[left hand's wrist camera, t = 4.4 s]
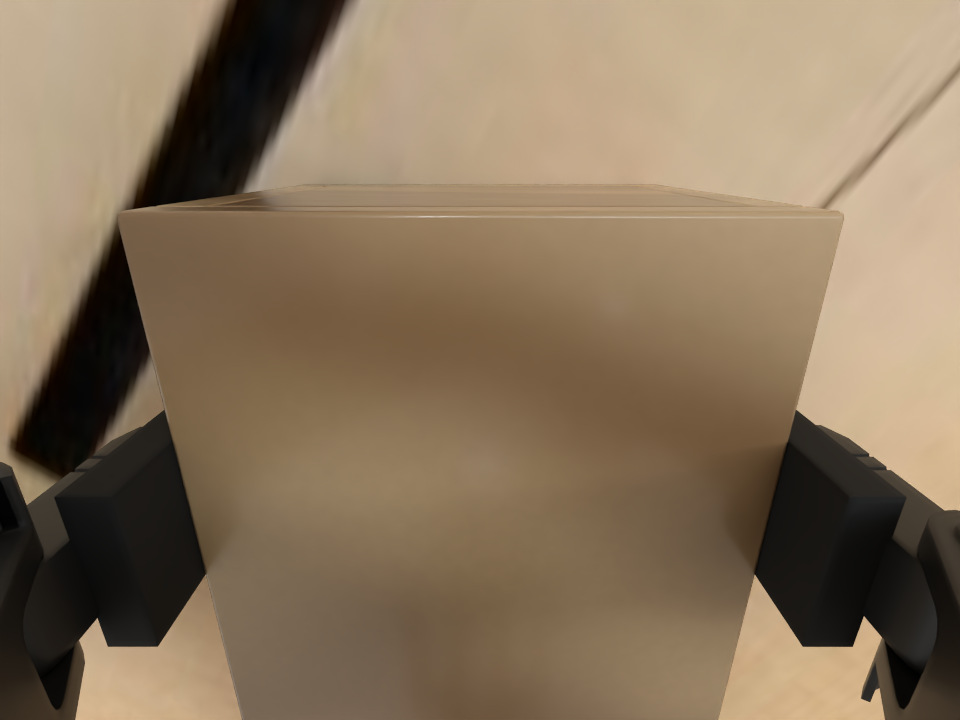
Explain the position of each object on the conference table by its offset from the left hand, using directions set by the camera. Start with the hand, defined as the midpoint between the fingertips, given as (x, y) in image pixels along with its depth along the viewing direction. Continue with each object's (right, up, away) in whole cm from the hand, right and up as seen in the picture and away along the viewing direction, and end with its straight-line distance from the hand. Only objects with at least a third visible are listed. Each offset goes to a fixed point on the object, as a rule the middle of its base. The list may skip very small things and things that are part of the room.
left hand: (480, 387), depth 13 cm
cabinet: (0, -4, +5) cm, 6 cm away
